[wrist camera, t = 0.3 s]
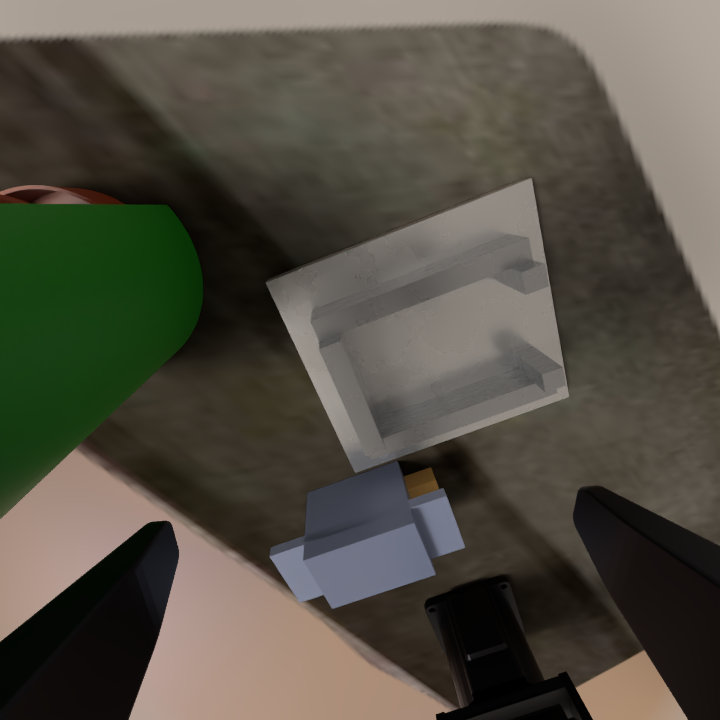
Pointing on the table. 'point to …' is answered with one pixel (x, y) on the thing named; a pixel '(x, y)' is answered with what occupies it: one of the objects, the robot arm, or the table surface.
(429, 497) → the block
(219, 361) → the table surface
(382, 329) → the chassis
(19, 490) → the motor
